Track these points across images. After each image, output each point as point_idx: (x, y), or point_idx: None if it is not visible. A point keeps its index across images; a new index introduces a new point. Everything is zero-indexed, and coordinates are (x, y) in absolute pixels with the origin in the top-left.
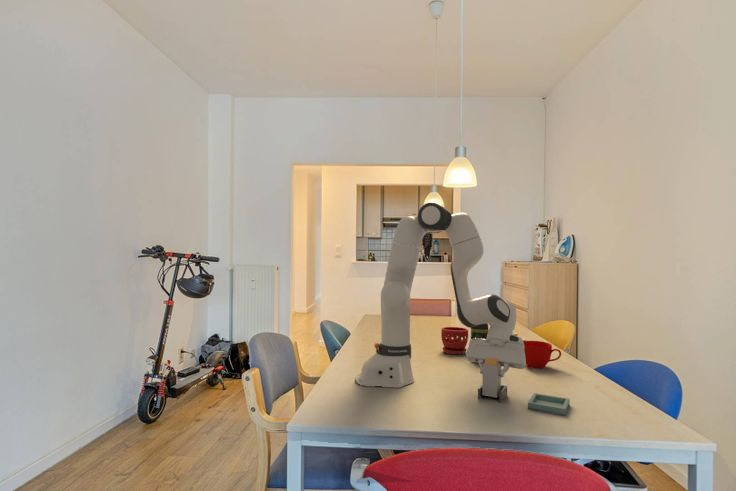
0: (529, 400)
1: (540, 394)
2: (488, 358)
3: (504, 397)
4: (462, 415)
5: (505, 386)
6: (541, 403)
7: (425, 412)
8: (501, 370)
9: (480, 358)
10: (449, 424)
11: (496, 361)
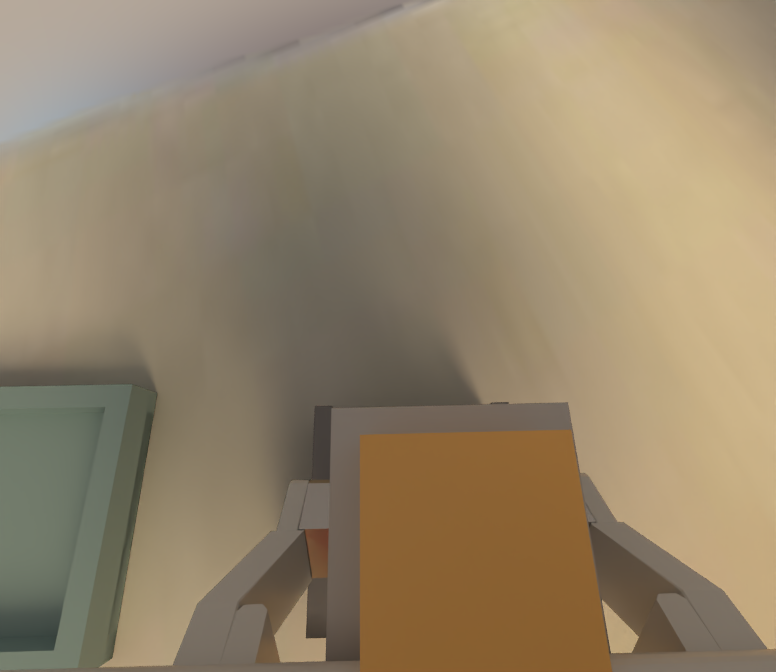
0: (119, 436)
1: (18, 667)
2: (566, 582)
3: None
4: (453, 143)
5: (318, 609)
6: (53, 527)
7: (607, 99)
8: (306, 521)
9: (757, 651)
10: (458, 47)
11: (361, 480)
